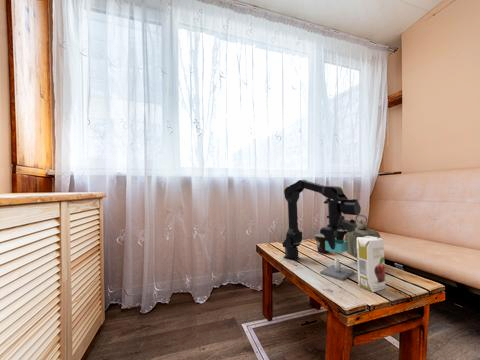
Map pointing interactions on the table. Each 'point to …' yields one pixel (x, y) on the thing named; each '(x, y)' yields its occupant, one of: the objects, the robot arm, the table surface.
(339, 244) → the teal square ring
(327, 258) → the table surface
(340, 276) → the station
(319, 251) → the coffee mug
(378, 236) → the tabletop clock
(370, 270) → the juice carton
